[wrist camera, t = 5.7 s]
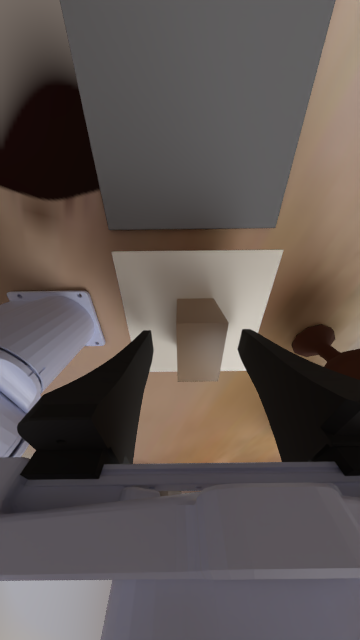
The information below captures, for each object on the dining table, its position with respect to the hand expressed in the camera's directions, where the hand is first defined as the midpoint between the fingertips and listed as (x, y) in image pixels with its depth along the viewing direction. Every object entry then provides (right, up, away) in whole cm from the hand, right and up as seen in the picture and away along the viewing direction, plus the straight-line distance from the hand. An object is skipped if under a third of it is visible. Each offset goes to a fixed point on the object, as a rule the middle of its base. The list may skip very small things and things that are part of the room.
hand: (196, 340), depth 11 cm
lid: (0, +1, +2) cm, 2 cm away
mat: (0, +16, 0) cm, 16 cm away
